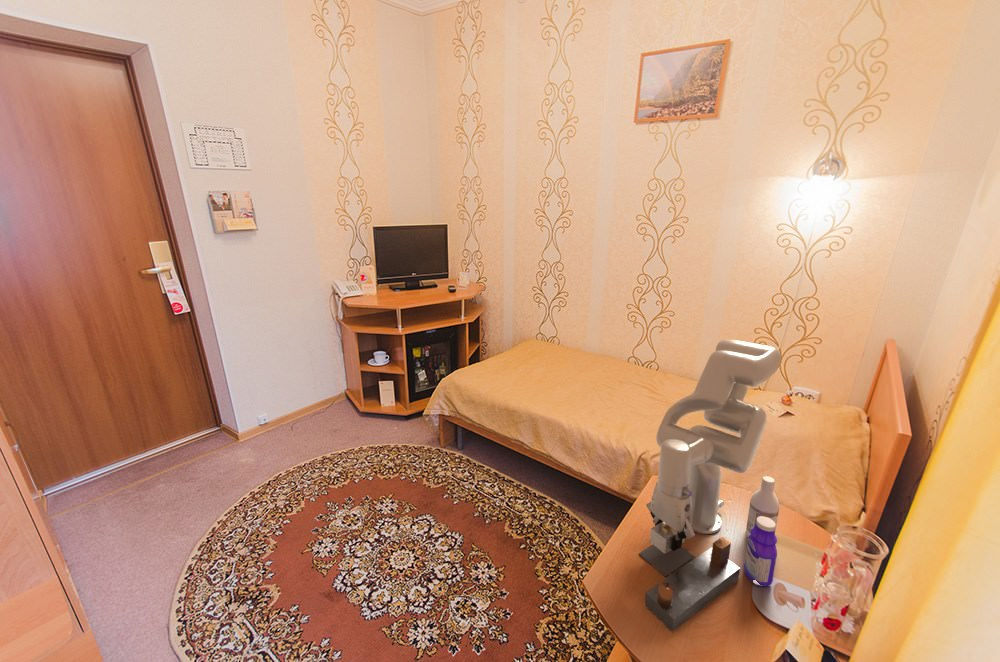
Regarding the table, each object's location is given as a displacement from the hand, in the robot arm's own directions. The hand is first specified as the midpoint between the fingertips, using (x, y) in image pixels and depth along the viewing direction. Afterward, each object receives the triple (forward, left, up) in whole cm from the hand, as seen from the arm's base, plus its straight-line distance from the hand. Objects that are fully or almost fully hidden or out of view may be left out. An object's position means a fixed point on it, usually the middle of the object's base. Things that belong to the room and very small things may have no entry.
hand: (667, 541), depth 113 cm
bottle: (-14, +17, -6) cm, 23 cm away
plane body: (+4, +11, -5) cm, 13 cm away
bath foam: (-28, +10, -6) cm, 31 cm away
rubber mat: (0, 0, -5) cm, 5 cm away
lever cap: (0, 0, 0) cm, 0 cm away
